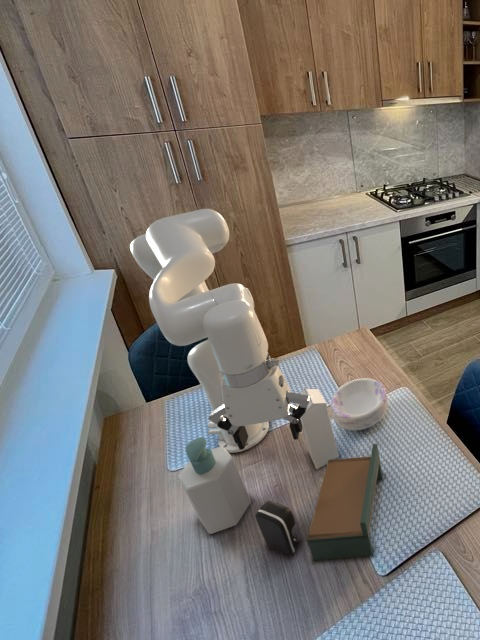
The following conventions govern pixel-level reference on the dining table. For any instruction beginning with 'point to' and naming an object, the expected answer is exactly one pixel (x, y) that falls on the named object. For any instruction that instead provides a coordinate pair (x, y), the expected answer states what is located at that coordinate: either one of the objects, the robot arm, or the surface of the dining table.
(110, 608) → the dining table surface
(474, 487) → the dining table surface
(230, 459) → the soap bottle
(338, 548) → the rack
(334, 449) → the milk
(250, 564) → the dining table surface
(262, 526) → the battery charger
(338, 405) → the paper bowls
